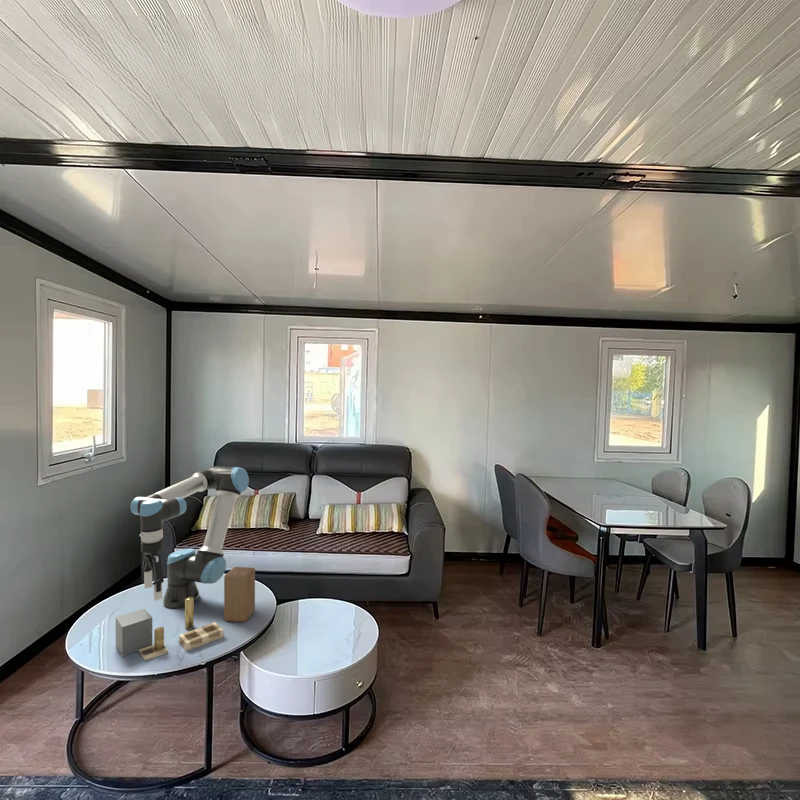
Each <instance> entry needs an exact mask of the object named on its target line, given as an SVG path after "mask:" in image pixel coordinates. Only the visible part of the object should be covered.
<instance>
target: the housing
mask: <svg viewBox="0 0 800 800" xmlns="http://www.w3.org/2000/svg"><path fill="white" fill-rule="evenodd" d="M151 645H153V617H152V615H151V614H150V613H149V612H148V611H147V610H146V608H140V609H138V610H134V611H132V612H129V613H125V614H121V615H119V616H115V646H116V649H117V650H118V651H119V654H120V655H121V657H125V656H127V655H132V654H133V653H136V652H139V649H142V648H145V647H148V646H151Z"/></svg>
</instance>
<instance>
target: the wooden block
mask: <svg viewBox="0 0 800 800" xmlns="http://www.w3.org/2000/svg"><path fill="white" fill-rule="evenodd" d="M223 581H224V583H223V584H224V585H223V589H224V591H223V593H224V594H223V596H224V598H223V599H224V600H223V604H224V605H223V606H224V607H223V609H224V611H223V612H224V613H223V615H224V616H223V618H224V621H226V622H237V623H238V622H240V623H246V622H247V621H248V620H249V619H250V618H251V616H252V615H254V613H255V611H256V569H255V567H248V566H247V567H246V566H244V567H242V566H235V567H233V568H231V570H229V571H228V572H226V573H225V574H224V577H223Z"/></svg>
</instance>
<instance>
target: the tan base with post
mask: <svg viewBox="0 0 800 800" xmlns="http://www.w3.org/2000/svg"><path fill="white" fill-rule="evenodd" d="M153 631H154V632H153V633H154V637H153V639H154V641H153V643H152V645H151V646H148V647H145V648H142V649H139V651H138V652H139V655H141V657H142V658H143V660H144V661H145V662H146V661H147V662H148V660H152V659H154V658H157V657H159V656H162V655H165V654H168V653H169V650H168V648H167V647H166V645H165V628H164V627H163V626H159V627H157V628H155V629H154V630H153Z"/></svg>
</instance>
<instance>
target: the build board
mask: <svg viewBox="0 0 800 800" xmlns="http://www.w3.org/2000/svg"><path fill="white" fill-rule="evenodd" d="M222 638H224V628H222V627H221V625H219V624H218V623H217V622H216V621H214V622H212V623H209V624H207V625H202V626H200V627H198V628H196V629H195V628H194V629H191V630H189V631H187V632H184V633H181V634H179V635H178V644H179V645H181V647H182V648H183V649H184V650H185V652H189V651H191V650H194V649H197V648H198V647H199V648H200V647H201V645H202V646H204V645H207V644H209V643H211V642H215V641H216V640H219V639H222ZM193 648H194V649H193ZM188 650H189V651H188Z"/></svg>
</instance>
